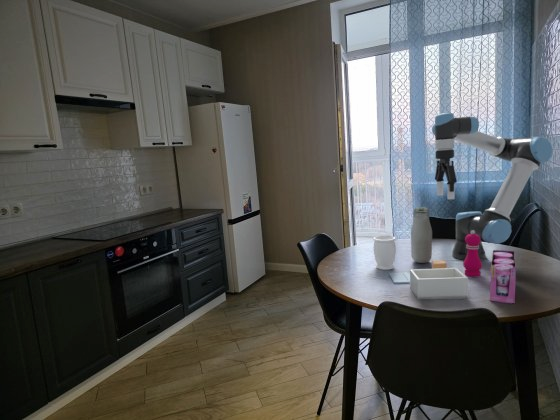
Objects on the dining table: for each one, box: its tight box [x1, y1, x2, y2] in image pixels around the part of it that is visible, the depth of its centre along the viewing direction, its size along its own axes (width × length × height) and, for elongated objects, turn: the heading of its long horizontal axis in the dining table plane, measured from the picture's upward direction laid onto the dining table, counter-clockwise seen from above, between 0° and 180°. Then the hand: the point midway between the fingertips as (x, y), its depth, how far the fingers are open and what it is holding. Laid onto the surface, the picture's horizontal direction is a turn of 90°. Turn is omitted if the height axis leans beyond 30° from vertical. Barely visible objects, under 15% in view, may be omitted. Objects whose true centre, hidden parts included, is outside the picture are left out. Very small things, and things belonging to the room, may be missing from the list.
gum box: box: [489, 249, 517, 304], centre depth 141 cm, size 24×8×14 cm, turn 149°
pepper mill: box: [463, 230, 483, 278], centre depth 162 cm, size 7×7×20 cm
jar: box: [373, 235, 397, 271], centre depth 181 cm, size 11×10×15 cm
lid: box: [388, 260, 448, 285], centre depth 163 cm, size 23×13×7 cm, turn 84°
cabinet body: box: [409, 267, 469, 301], centre depth 145 cm, size 18×12×8 cm, turn 84°
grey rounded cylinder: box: [410, 206, 433, 264], centre depth 184 cm, size 10×10×28 cm
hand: (445, 197), depth 167 cm, fingers open, 13 cm apart
